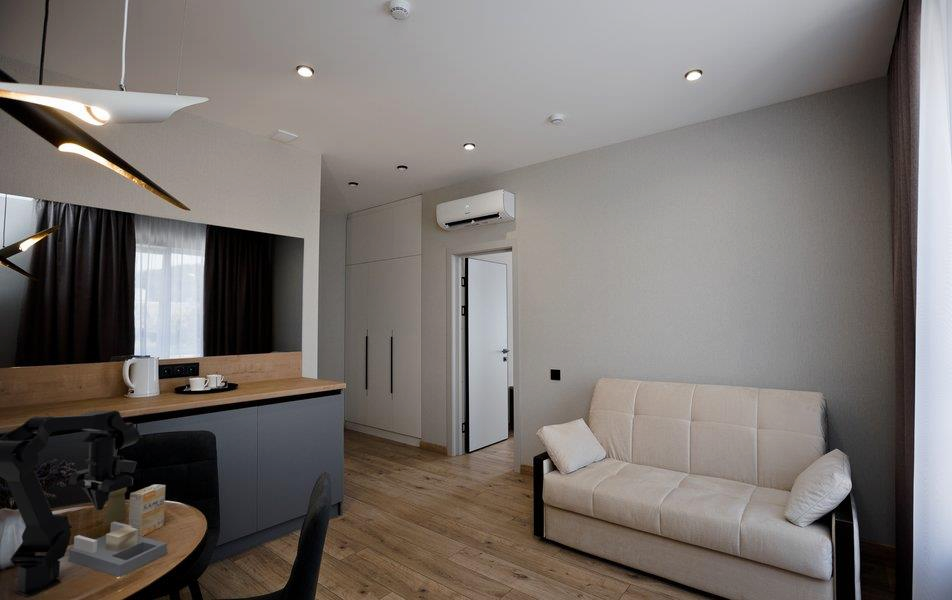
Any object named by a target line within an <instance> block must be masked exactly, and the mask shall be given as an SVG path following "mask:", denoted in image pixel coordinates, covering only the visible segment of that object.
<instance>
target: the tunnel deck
mask: <svg viewBox="0 0 952 600" xmlns="http://www.w3.org/2000/svg"><path fill="white" fill-rule="evenodd" d="M125 526H127V527H131V528H133V526H130V525H129V524H127V523H122V522H120V521H119V522H112V523H110V532H113V531H115V530H118V529H120V528H123V527H125ZM110 532H109V533H110ZM167 549H168V543H167V542H164V541H161V540H155V539H152V538H149V537H145V536H143V537H141V536H138V537H137V544H136V545H133V546H131V547H129V548H127V549H124V550H122V551H120V552H114V551H111V550H107V549H106V534H104V535H103V536H99V537H97V538H94V539H93V538H90V537H86V536H84V535H79V534H78V535H75V536H74V537H73V547H72V548H70V549H69V551H68V553H69V554H68V562H71V563H75V564H77V565H80V566H83V567H87V568H90V569H94V570H96V571H99V572H102V573H106V574H109V575H112V576H115V577H118V578H121V577H123V576H125V575H127V574H129V573H131V572H133V571H135V570H138V569H139V568H141V567H143V566H145V565H147V564H149V563H151V562H153V561H156V560H157V559H159V558H161V557H164V556H165V555H167V551H168V550H167Z"/></svg>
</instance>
